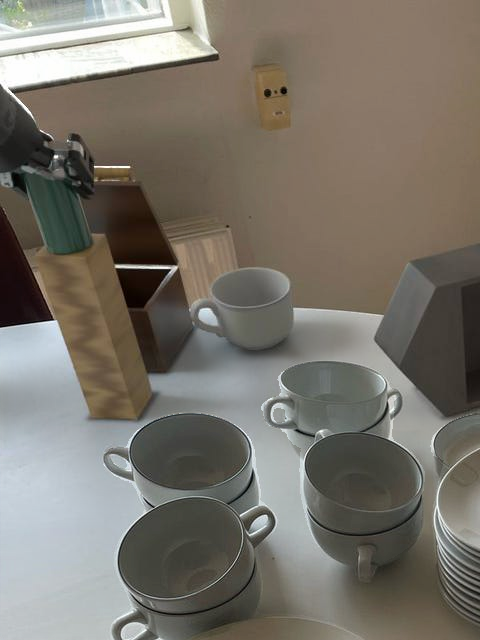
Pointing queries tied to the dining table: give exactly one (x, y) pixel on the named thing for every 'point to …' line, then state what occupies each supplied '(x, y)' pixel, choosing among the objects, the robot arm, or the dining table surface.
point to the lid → (127, 219)
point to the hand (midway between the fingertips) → (60, 191)
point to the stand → (97, 329)
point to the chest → (156, 312)
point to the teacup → (249, 307)
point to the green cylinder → (58, 214)
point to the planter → (438, 328)
